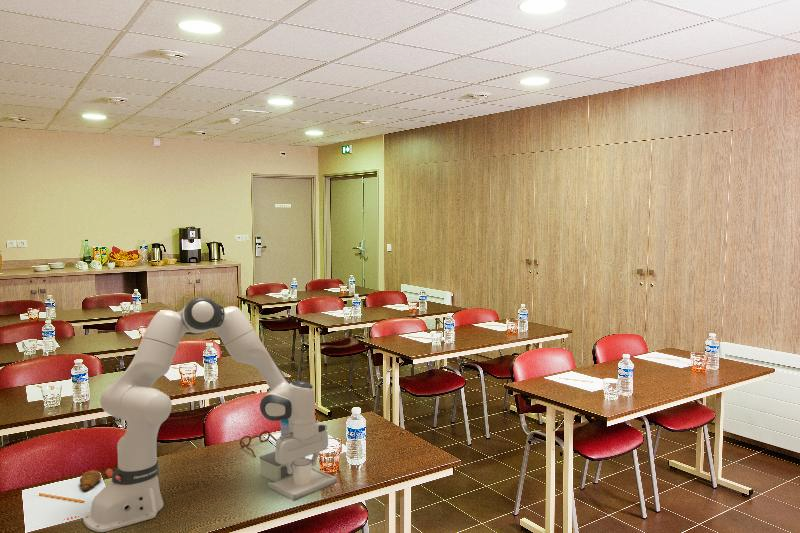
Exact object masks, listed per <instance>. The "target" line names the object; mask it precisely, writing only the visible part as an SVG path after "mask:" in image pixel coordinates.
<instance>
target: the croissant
mask: <svg viewBox="0 0 800 533" xmlns="http://www.w3.org/2000/svg"><path fill="white" fill-rule="evenodd" d="M101 479H102V474H101V473H100V470H93V469H92V470H87V471H86V472H84V473H83V474H82V475H81V477H80V479H79V484H80V487H81V490H82V491H83V492H84V493H85V492H88V491H90V490H92V489H93V488H95V486H96V485H98V483H99V482H100V481H101Z"/></svg>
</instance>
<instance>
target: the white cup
mask: <svg viewBox="0 0 800 533" xmlns="http://www.w3.org/2000/svg"><path fill="white" fill-rule="evenodd" d="M312 467H313V466H312V460H311V459H310V458H306V457H305V458H300V459H297V460H295V461H292V468H294V473H293V479H294V483H295V484H296V485H307V484H309V483H310V481H311V470H312Z"/></svg>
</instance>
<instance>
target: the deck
mask: <svg viewBox="0 0 800 533" xmlns="http://www.w3.org/2000/svg"><path fill="white" fill-rule="evenodd" d="M258 458H259V459H260V460H259V465H260V466H259V467H260V471H259V472H260V474H259V475H260V476H262V477H263V478H267V479H268V480H270V481H269V482H268V483H267V484H268V488H269V489H271V490H272V491H275V492H277V493H278V494H281V495H282V496H284V497H286V498H288V499H290V500H292V501H297V500H299V499H302V498H304V497H306V496H309V495H310V494H313V493H315V492H319V491H320V490H322V489H325V488H327V487H329V486H332V485H334V484H336V483H337V477H336V476H334V475H331V474H330V473H327V472H325V471H323V470H320V469H318V468H316V467H314V466H312V470H311V481H310V483H309V484H307V485H296V484H295V483H294V479H293V474H288V472H287V467H286V466H285V464H283V465H281V464H279V463H277V462H276V461H275V451H271V452H269V453H267V454H266V453H265V454H263V455H260V456H259V457H258ZM303 458H306V457H303ZM290 466H291V467H292V464H291V465H290ZM271 481H272V482H271Z"/></svg>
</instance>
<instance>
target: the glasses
mask: <svg viewBox="0 0 800 533" xmlns="http://www.w3.org/2000/svg"><path fill="white" fill-rule="evenodd" d="M265 433H266V434H267V437H266V439H263V440H262V435H263V434H265ZM245 438H246V439H247V438H248V439H249V440H248V443H247V444H246V443H245V442H244V439H245ZM255 438H258V439H259V442H261V443H264V442H267V441H268V440H270V438H272V439H273V440H274V441H275V442H276V441H277V438H275V437H274V435H273V434H271V432H269V431H268V430H264V431H262V432H261V433H260V434H259V435H257V434H256V435H254V436H250V435H244V436H242V437H241V438H240V440H239V445H240V447H241V448H246V449H247V450H248V451H251V452H252V455H253V457H254V458H257V456H256V454H255V452H254V450H253V449H252V448H250V447H249V445H250V444H251V443H252V442H251V441H252V439H255Z"/></svg>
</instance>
